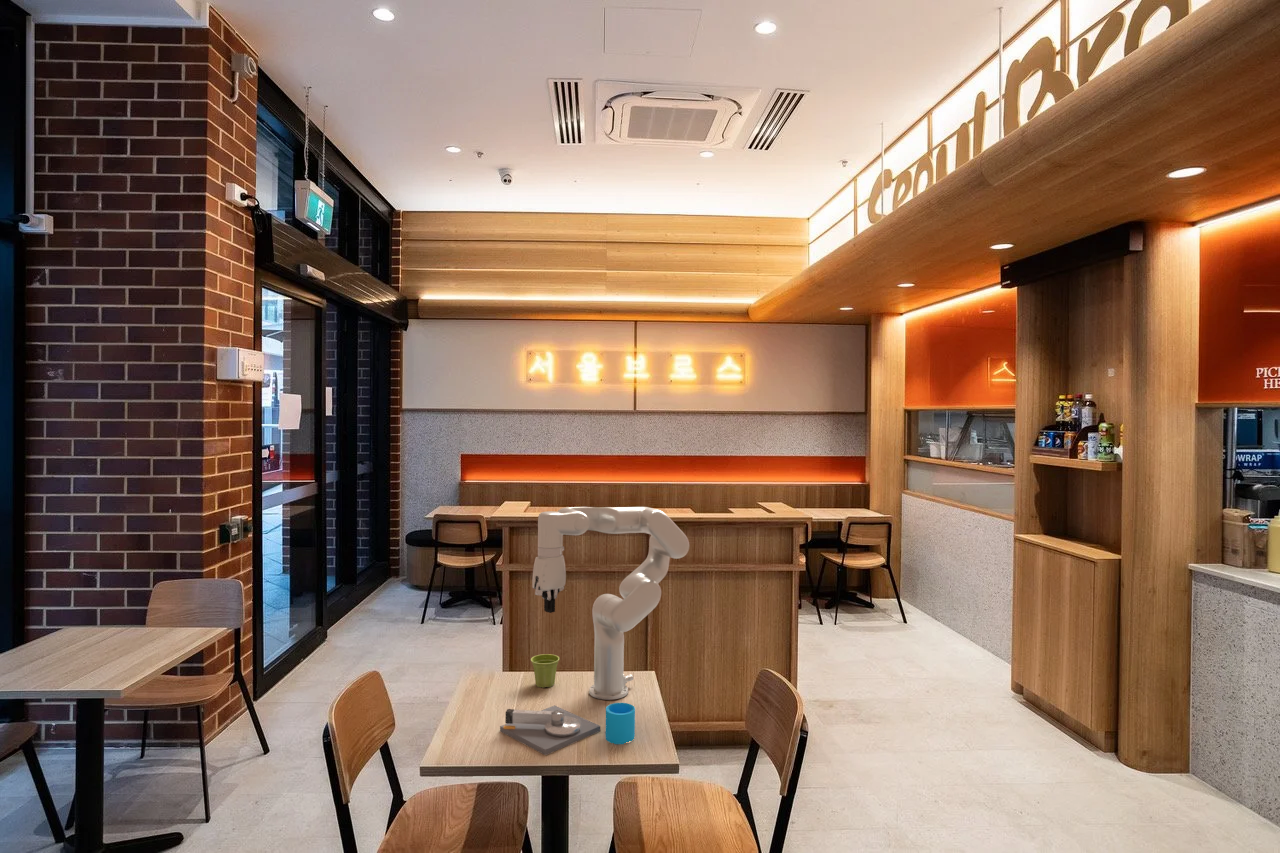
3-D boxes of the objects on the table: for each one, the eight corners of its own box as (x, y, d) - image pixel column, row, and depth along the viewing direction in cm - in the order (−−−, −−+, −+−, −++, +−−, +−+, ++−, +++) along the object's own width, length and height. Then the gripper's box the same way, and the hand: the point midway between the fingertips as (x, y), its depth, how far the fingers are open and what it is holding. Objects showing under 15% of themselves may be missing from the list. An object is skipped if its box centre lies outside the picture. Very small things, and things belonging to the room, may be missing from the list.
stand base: (554, 710, 213) (554, 703, 213) (600, 731, 200) (600, 723, 200) (499, 731, 199) (499, 724, 199) (544, 755, 185) (544, 747, 185)
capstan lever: (510, 719, 203) (510, 703, 203) (582, 722, 202) (583, 706, 202) (501, 734, 193) (501, 718, 193) (577, 738, 192) (577, 721, 192)
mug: (634, 744, 192) (634, 715, 192) (604, 744, 192) (604, 714, 192) (635, 725, 204) (636, 697, 204) (607, 724, 204) (608, 696, 204)
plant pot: (524, 686, 232) (525, 660, 232) (541, 677, 240) (541, 652, 240) (548, 692, 227) (548, 665, 227) (564, 682, 236) (564, 656, 236)
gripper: (560, 547, 224) (560, 604, 225) (523, 553, 213) (522, 614, 214) (576, 550, 219) (575, 609, 219) (538, 557, 208) (538, 619, 208)
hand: (549, 611), depth 216 cm, fingers closed
